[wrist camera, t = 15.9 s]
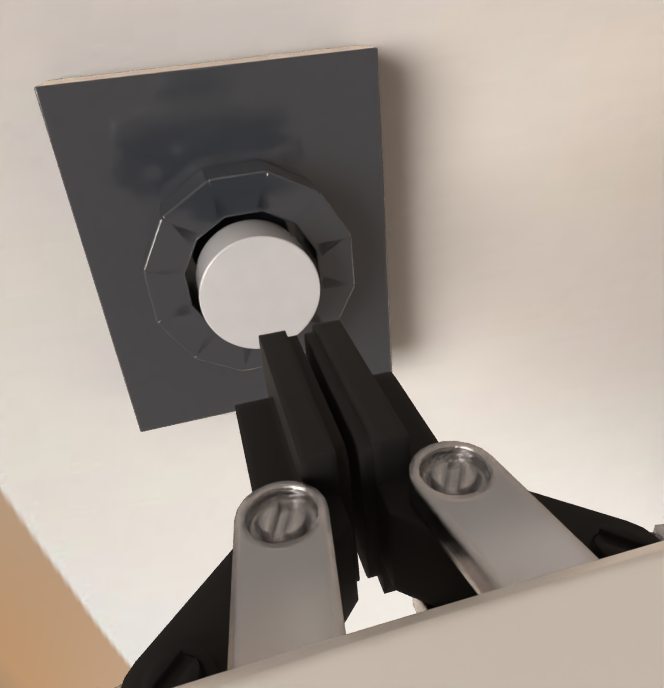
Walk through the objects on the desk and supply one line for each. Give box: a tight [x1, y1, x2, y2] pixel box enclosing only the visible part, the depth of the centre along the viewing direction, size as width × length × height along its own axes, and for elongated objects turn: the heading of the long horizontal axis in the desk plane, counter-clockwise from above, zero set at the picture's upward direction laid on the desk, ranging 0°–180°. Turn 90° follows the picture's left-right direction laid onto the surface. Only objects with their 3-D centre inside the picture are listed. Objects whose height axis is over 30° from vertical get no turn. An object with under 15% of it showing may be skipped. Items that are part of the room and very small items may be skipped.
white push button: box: [196, 219, 320, 349], centre depth 18 cm, size 4×4×2 cm
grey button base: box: [34, 45, 392, 432], centre depth 20 cm, size 12×10×4 cm
